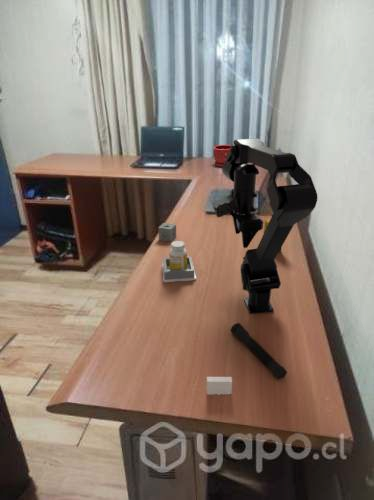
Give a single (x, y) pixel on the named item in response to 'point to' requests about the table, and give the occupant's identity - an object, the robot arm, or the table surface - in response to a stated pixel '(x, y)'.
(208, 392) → the eraser
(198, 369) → the table surface
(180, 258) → the supplement bottle
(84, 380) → the table surface
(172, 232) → the dice cube
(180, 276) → the tray
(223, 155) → the plant pot
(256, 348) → the flashlight
